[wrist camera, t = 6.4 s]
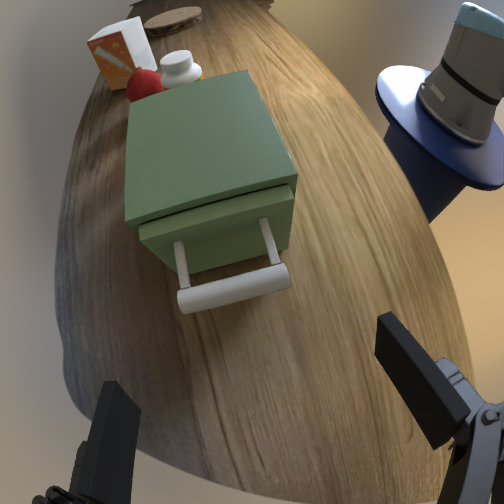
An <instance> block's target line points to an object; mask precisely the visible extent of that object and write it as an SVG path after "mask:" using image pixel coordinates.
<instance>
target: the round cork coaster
mask: <svg viewBox="0 0 504 504" xmlns="http://www.w3.org/2000/svg"><path fill="white" fill-rule="evenodd" d="M202 19H203V16H202V11H201V8H199V7H184V8H178V9H174V10H171V11H167V12H165V13H162V14H160V15H157V16H155V17H153V18H151V19H150V20H148V21H147V22H146V23H145V24H144V29H145V31H146V34H147V36H151V37H153V36H162V35H167V34H171V33H175V32H178V31H181V30H184V29H187V28H189V27H191V26H194V25H196V24H197V23H199V22H200V21H201V20H202Z"/></svg>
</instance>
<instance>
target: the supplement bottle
mask: <svg viewBox="0 0 504 504" xmlns="http://www.w3.org/2000/svg"><path fill="white" fill-rule="evenodd" d="M160 65H161V69H162V71H163V72H164V73H163V74H162V76H161V84H162V87H163V90H164V91H166V90H169V89H172V88H175V87H178V86H182V85H185V84H189V83H192V82H196V81H199V80H203V75H202V71H201V68H200V66H199V65H198V64H196V63H193V58H192V54H191V52H190V51H187V50H181V51H176V52H172V53H170V54H168V55H166V56H164V57H163V58H162V59H161V60H160Z"/></svg>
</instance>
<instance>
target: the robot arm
mask: <svg viewBox="0 0 504 504" xmlns="http://www.w3.org/2000/svg"><path fill="white" fill-rule="evenodd" d="M454 22H455V24H454V27H453V30H452V33H451V36H450V38H449V41H448V44H447V46H446V49H445V51H444V54H443V57H442V59H441V62H440V64H439V66H438V67H437V68H435V70H433V71H432V72H431V73H430V74H429V75H428V76H427V77H426V78H425V80H423V81H422V82H421V83H420V85H419V88H418V90H417V93H416V96H417V100H418V103H419V105H420V106H421V108H422V109H423V111H424V112H425V113H426V114H427V116H428V117H429V118H430V119H431V120H432V121H433V122H434V123H435V124H436V125H437V126H439V127H440V128H441V129H442V130H443V131H445V132H446V133H447V134H449V135H450V136H452V137H453V138H455V139H456V140H458V141H460V142H462V143H464V144H466V145H469V146H472V147H481V146H483V145H484V144H485V142H486V141H487V140H488V138H489V136H490V132H491V128H492V124H493V120H494V115H495V110H496V107H497V105H498V104H499V102H500V100H501V99H502V97H504V20H503V19H502V18H500V17H499V16H497V15H495V14H493V13H491V12H489V11H488V10H486V9H484V8H481V7H480V6H477V5H475V4H472V3H463V4H462V5H461V6H460V9H459V12H458V14H457V17H456V18H455V19H454ZM374 355H375V356H376V358H377V359H378V361H379V362H380V364H381V365H382V367H383V369H384V370H385V372H386V373H387V375H388V376H389V378H390V379H391V381H392V383H393V384H394V386H395V387H396V389H397V390H398V392H399V394H400V395H401V397H402V398H403V400H404V402H405V403H406V405H407V406H408V408H409V410H410V411H411V413H412V415H413V416H414V418H415V420H416V421H417V423H418V425H419V426H420V428H421V430H422V431H423V433H424V435H425V436H426V438H427V440H428V442H429V443H430V445H431V447H432V449H433V450H436V449H438V448H439V447H441V446H442V445H444V444H445V443H447V442H448V441H449V440H450V439H451V437H452V436H453V438H454V439H455V440H454V441H453V442H452V444H451V445H450V446H449V448H448V450H451V448H452V447H453V449H452V454H451V458H450V462H449V466H448V470H447V473H446V477H445V480H444V484H443V487H442V490H441V493H440V496H439V499H438V502H437V504H488V502H489V498H490V495H491V491H492V496H491V504H504V402H501V403H499V404H492V403H487V402H485V401H484V400H483V399H482V398H481V396H480V395H479V394H478V392H477V391H476V390H475V389H474V387H473V386H472V385H471V384H470V382H469V381H468V380H467V379H466V378H465V376H464V375H463V374H462V373H461V372H460V370H459V369H458V368H457V367H456V365H455V364H454V363H453V362H451V361H450V360H448V359H446V358H444V357H443V358H441V359H440V360H438V361H436V362H434V361H433V360H432V359H431V357H430V356H429V355H428V354H427V353H426V351H425V350H424V349H423V348H422V347H421V345H420V344H419V343H418V342H417V341H416V339H415V338H414V337H413V336H412V335H411V334H410V332H409V331H408V330H407V329H406V328H405V327H404V325H403V324H402V323H401V322H400V321H399V320H398V319H397V317H396V316H395V315H394V314H393V313H392V312H391V311H390V312H387V313H385V314H382V315H380V316H378V317H377V332H376V343H375V353H374ZM140 416H141V409H140V408H139V407H138V406H137V405H136V404H135V403H134V402H133V400H132V399H131V398H130V397H129V396H128V395H127V393H126V392H125V391H124V390H123V389H122V387H121V386H120V385H119V384H118V383H117V381H116V380H115V381H104V384H103V387H102V390H101V394H100V397H99V400H98V404H97V407H96V410H95V414H94V417H93V421H92V425H91V429H90V433H89V436H88V440H87V441H83V442H82V443H81V445H80V446H79V448H78V451H77V455H76V460H75V466H74V468H73V473H72V478H71V483H70V488H69V492H67V491H65V490H63V489H62V488H60V487H58V486H51V487H49V489H47V491H46V495H45V496H46V497H43V496H41V495H37V496H35V497H34V498H33V501H32V504H131V503H130V502H131V489H132V478H133V468H134V459H135V451H136V443H137V436H138V429H139V423H140Z"/></svg>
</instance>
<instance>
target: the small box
mask: <svg viewBox="0 0 504 504" xmlns="http://www.w3.org/2000/svg"><path fill="white" fill-rule="evenodd" d="M87 44H88V46H89V48H90V50H91V52H92V54H93V57H94V58H95V61H96V63H97V65H98V67H99V69H100V71H101V73H102V75H103V77H104V78H105V80H106V82H107V84H108V86H109V88H110V90H111V91H113V90H118V89H124V88H127V83H128V80H129V78H130V77H131V75H132V74H133V72H134V71H135V68H136V67H137V66H141V68H142V69H148V70H152V71H154V72H155V71H156V70H157V66H156V63H155V60H154V57H153V54H152V51H151V49H150V46H149V43H148V40H147V37H146V35H145V32H144V29H143V26H142V23H141V20H140V17H135V18H132V19H129V20H124V21H121V22H118V23H116V24H112V25H110V26H106V27H104V28H103V29H102V30H100V31H99V32H98V33H96V34H95V35H94V36H93V37H92V38H90V39H89V40H88V41H87Z"/></svg>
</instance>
